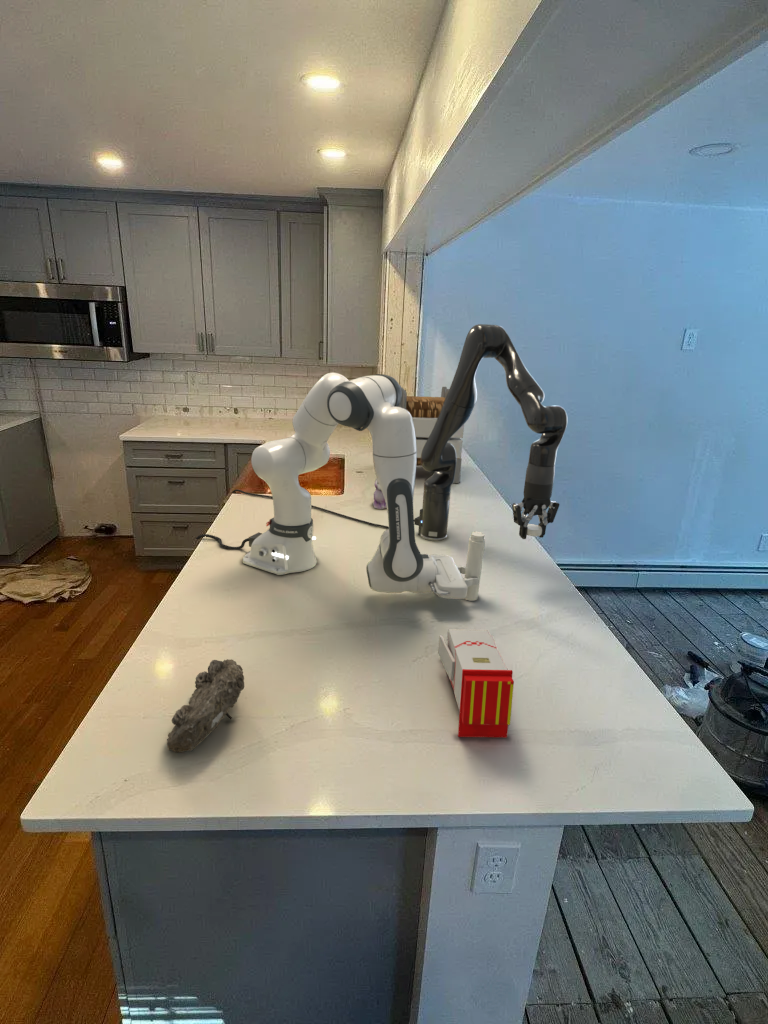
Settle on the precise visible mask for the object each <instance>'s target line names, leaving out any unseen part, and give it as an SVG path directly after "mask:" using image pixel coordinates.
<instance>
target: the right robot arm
mask: <svg viewBox="0 0 768 1024" xmlns="http://www.w3.org/2000/svg"><path fill="white" fill-rule="evenodd" d="M483 359H495V360H496V361H497V362H498V363H499V364H500V365H501V366H502V367H503V371H504V373H505V383H506V386H507V389H508V391H509V393H510V394H511V395H512V397H513V398H514V400H515V401H516V403H518V405H519V406H520V409H521V412H522V415H523V418H524V420H525V423H526V425H527V427H528V428H529V429H530V430H531V431H532V432H533V433H536V434H539V435H541V436H540V438H539V439H537V440H535V441H533V442H532V443H531V444H530V448H529V454H528V462H527V467H526V471H525V479H524V486H523V499H522V500H521V502H518V503H516V502H514V503H512V504H511V507H512V516H513V523H515V524H516V525H518V526H519V529H518V530H519V531H518V536H519V537H520V538H521V539H522V540H527V536H528V535H527V529H528V527H527V525H528V524H530V521H532V520H533V517H534V516H535V517H536V516H537V518H538V524H537V525H539V526H541V527H542V534H541V535H540V536H538V538H544V536H545V535H546V532H547V531H546V530H547V525H549V524H552V523H554V521H555V519H556V516H557V514H558V511H559V507H560V503H559V502H557V501H555V500H554V499H553V500H551V498H552V495H553V490H554V489H553V488H554V481H555V476H556V475H555V473H556V461H557V454H558V449H559V447H560V445H561V443H562V440H563V438H564V435H565V432H566V430H567V426H568V414H567V411H566V410H565V408H564V407H562V406H561V405H544V404H542V403H543V402H544V400H545V392H544V390H543V389H542V387H541V386H540V385H539V383H538V382H537V381H536V380H535V378H534V377H533V375H531V373H530V372H529V370H528V369H527V368H526V365H525V364H524V362H523V360H522V359H521V356H520V355H519V353H518V351H517V349H516V347H515V344H514V343H513V341H512V339H511V337H510V336H509V333H508V332H507V331H506V329H505V328H504V327H503V326H501V325H498V324H488V323H487V324H486V323H484V324H482V323H477V324H475V325H473V326H472V327H470V329H469V330H468V333H467V334H466V336H465V340H464V343H463V347H462V350H461V354H460V357H459V360H458V364H457V368H456V369H455V373H454V375H453V379H452V381H451V384H450V386H449V388H448V389H449V391H448V393H447V396H446V398H445V401H444V403H443V406H442V409H441V412H440V414H439V416H438V419H437V421H436V423H435V426H434V428H433V430H432V432H431V434H430V436H429V438H428V440H427V441H426V443H425V445H424V447H423V450H422V453H421V465H422V466H421V467H422V469H423V470H424V471H426V472H428V473H433V474H431V476H429V477H427V478H426V479H425V480H424V482H423V493H422V496H423V497H422V506H421V508H420V509H419V516H416V517H414V526H418V530H417V535H418V536H420V538H421V539H424V540H426V541H432V542H440V541H444V540H446V539H447V538H448V525H449V517H450V516H449V514H450V504H451V494H452V493H451V491H452V486H453V484H454V483H453V481H454V475H455V468H456V460H457V456H456V450H455V448H454V446H453V445H452V444H450V443H447V442H448V440H449V439H450V438H451V437H452V436H453V435H454V434H455V433H456V432H457V431H458V430H459V429H460V428H461V427H462V426H463V425H464V426H465V424H466V422H467V421H468V420H469V418H470V417H471V415H472V412H473V411H474V409H475V406H476V403H477V399H478V390H477V383H476V375H477V371H478V368H479V365H480V363H481V361H482V360H483ZM235 492H239V493H242V494H244V495H249V496H255V497H256V496H257V497H262V498H269V499H273V496H272V495H266V494H258V493H253V492H246V491H244V490H241V489H234V490H232V491H231V493H232V494H233V493H235ZM311 508H312V509H316V510H320V511H323V512H327V513H330V514H333V515H336V516H339V517H342V518H345V519H349V520H352V521H356V522H358V523H359V522H360V523H363V524H367V525H370V526H374V527H377V528H384V529H386V530H387V529H388V528H389V525H388V526H387V525H383V524H378V523H373V522H370V521H365V520H364V519H363V520H362V519H359V518H355V517H352V516H350V515H345V514H342V513H339V512H335V511H332V510H329V509H326V508H323V507H319V506H316V505H313V504H311Z"/></svg>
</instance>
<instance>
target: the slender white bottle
mask: <svg viewBox="0 0 768 1024" xmlns="http://www.w3.org/2000/svg"><path fill="white" fill-rule="evenodd" d="M485 545H486V539H485V533H484V532H481V531H472V532H471V534H470V537H469V538H468V545H467V553H466V562H465V567H466V569H465V574H464V578H467V579H469V578H471V577H478V579H479V584H478V585H471V586H469V587H467V597H466V598H464V599H463V600H466V601H470V602H474V601H477V600H478V599H479V590H480V584H481V575H482V568H483V561H484V560H483V559H484V553H485Z"/></svg>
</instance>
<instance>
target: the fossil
mask: <svg viewBox="0 0 768 1024" xmlns="http://www.w3.org/2000/svg"><path fill="white" fill-rule="evenodd" d="M243 670H244V669H243V667H242V665H240V664H237V662H236V661H235V660H234V659H232V658H231V659H227V658H226V659H224V660H223V661H222V660H217V659H212V660H211V661H210V663H209V665H208V666H207V671H201V672H199V673H198V674H197V675H196V676H195V680H194V684H195V685H194V687H195V689H194V690H193V693H192V694H191V697H190V698H189V700H188V704H184V705H182V706H181V707H180V709H177V710H176V711H175V713H174V715H173V716H172V718H171V723H172V724H173V727H172V730H171V731H170V732H168V734H167V738H166V741H167V742H166V745H167V749H168V750H169V751H173V752H174V753H176V754H178V753H182V752H188V751H189V752H192V751H193V750H195V748H196V747H197V746H199V744H200V743H201V742H203V741H204V740H205V739H206V738H207V737H208V736H209V735H210V734H211V733H212V732H214V730H215V729H217V727H218V726H219V724H220V722H221V721H222V720H223V719H224V718H225V716H226V717H227V719H229V720H233V717H232V715H230V714H229V710H230V709H231V708H234V706H235V704H236V703H237V702H238V699H239V697H240V695H241V693H242V691H243V690H245V689H244V688H245V675H244V671H243Z"/></svg>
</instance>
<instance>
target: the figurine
mask: <svg viewBox="0 0 768 1024" xmlns="http://www.w3.org/2000/svg"><path fill="white" fill-rule="evenodd" d="M373 484H374V488H375V490H374V492H373V502H372V506H373V508H374V509H378V510H384V509H387V505H386V502H385V499H384V496H383V493H382V490H381V488H380V485H379V483H378V480H377V478H376V479H375V481H374V483H373Z"/></svg>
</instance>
